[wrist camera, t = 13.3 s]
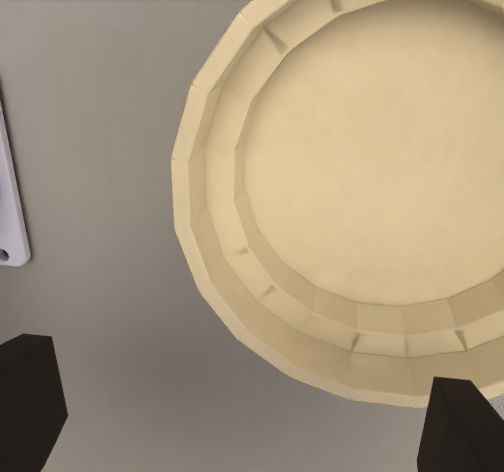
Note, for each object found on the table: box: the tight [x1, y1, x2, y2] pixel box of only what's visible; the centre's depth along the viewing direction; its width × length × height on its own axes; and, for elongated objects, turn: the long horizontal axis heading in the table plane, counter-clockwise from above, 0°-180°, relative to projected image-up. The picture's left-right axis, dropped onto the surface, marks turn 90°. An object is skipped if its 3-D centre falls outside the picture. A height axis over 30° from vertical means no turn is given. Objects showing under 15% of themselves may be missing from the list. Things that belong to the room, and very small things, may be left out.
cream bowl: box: [171, 0, 504, 408], centre depth 14 cm, size 13×13×4 cm
